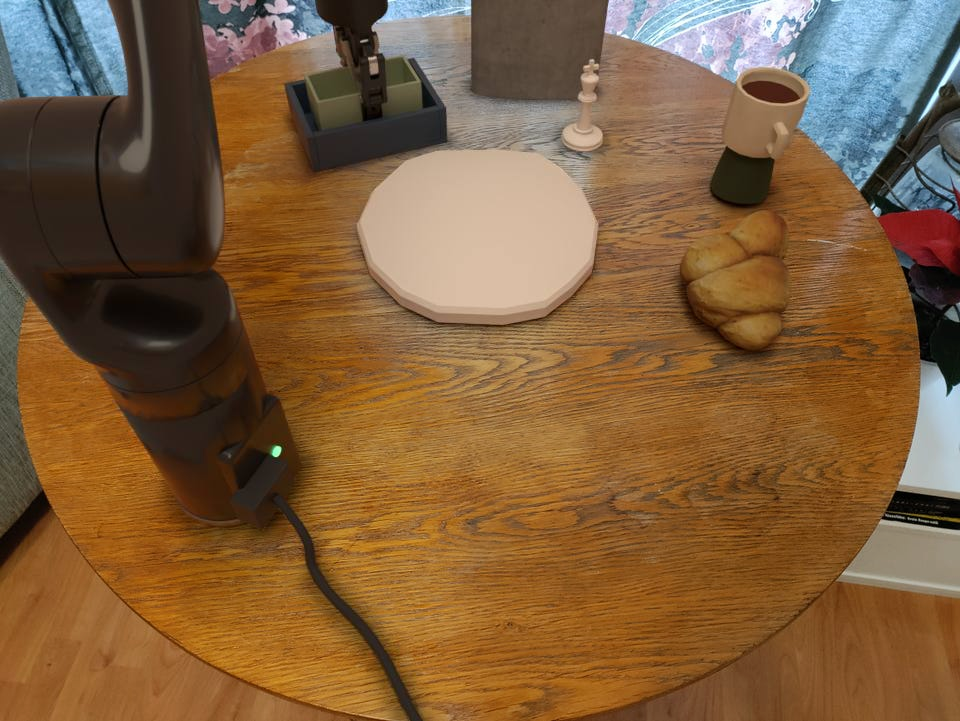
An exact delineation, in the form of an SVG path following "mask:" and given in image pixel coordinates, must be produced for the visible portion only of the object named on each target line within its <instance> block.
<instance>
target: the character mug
mask: <svg viewBox="0 0 960 721" xmlns="http://www.w3.org/2000/svg"><path fill="white" fill-rule="evenodd" d="M810 95H811V88H810V86H809V83H808V82H807V81H806V80H805V79H803V78H802V77H801V76H799V75H798V74H795V73H793V72H791V71H789V70H785V69H782V68H778V67H772V66H771V67H769V66H758V67H752V68H748V69H746V70H744V71H742V72H740V73H739V75H738V77H737V78H736V80H735V83H734V85H733V89H732V92H731V96H730V99H729V102H728V106H727V108H726V109H727V110H726V113H725V117H724V120H723V124H722V125H721V126H722V127H721V140H722V142H723V143H724V144H725V145H726V146H725V148H724V150H723V152H722V154H721V156H720V158H719V160H718V162H717V165H716V167H715V169H714V171H713V174H712V176H711V178H710V184H709V186H710V189H711V190H712V192H713V194H714V195H716V196H717V197H719V199H721V200H723V201H727V202H731V203H735V204H741V205H752V204H753V205H756V204H761V203H762V202H763V201H765V200H766V199H767V197H768V194H769V190H770V186H771V183H772V178H773V174H774V167H775V163H776V162H775V161H778V160H779V159H781V157H782V155H783V152H785V151H787V149H789V148H790V147H791V146H792V144H793V142H794V139H795V130H796V127H797V126H798V125H799V122H800V121H801V119H802V117H803V115H804V113H805V109H806V107H807V106H806V105H807V102H808V101H809V97H810Z"/></svg>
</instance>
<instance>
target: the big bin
mask: <svg viewBox="0 0 960 721" xmlns="http://www.w3.org/2000/svg"><path fill="white" fill-rule="evenodd" d="M407 60H408V62H409V63H410V65H411V66H412V68H413V70H414V71H415V73H416V74H417V76H418V78H419V79H420V81H421V88H422V105H423V109H419V110H415V111H410V112H405V113H401V114H396V115H391V116H387V117H382V118H378V119H373V120H368V121H364V122H359V123H354V124H350V125H345V126H340V127H336V128H331V129H326V130H322V131H319V130H318V127H317V125H316V123H315V121H314V118H313V116H312V114H311V110H310V104H309V99H308V94H307V89H306V83H305V78H303V79H298V80H294V81H293V80H292V81H289V82H285V83H284V84H283V85H284V89H285V90H284V91H285V94H286V98H287V99H286V100H287V104H288V108H289V113H290V118H291V120H292V123H293V125H294V128H295V130H296V132H297V135H298V137H299V140H300V142H301V144H302V147H303V150H304V151H305V154H306V157H307V159H308V162H309V164H310V166H311V169H312V171H313V173H317V172H322V171H325V170H330V169H334V168H335V169H336V168H339V167H344V166H348V165H352V164H357V163H361V162H365V161H369V160H374V159H378V158H383V157H387V156H391V155H395V154H400V153H405V152H408V151H413V150H418V149H422V148H426V147H431V146H435V145H440V144H444V143H447V142H448V122H447V119H448V118H447V107H446V105H445V104H444V102H443V100H442V99H441V97H440V96H439V94H438V92H437V91H436V89H435V88H434V86H433V85H432V83H431V82H430V80H429V79H428V76H427V75H426V74H425V72H424V70H423V69H422V68H421V65H419V63H418V61H417V60H416V58H415V57H410V58H407Z"/></svg>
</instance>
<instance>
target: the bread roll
mask: <svg viewBox="0 0 960 721" xmlns="http://www.w3.org/2000/svg"><path fill="white" fill-rule="evenodd" d="M789 245H790V229H789V226H788V223H787V221H786V220H785V219H784V217H782V215H781V216H780V215H779V214H778V213H777V212H775V211H771V210H768V209H767V210H766V209H761V210H757V211H754V212H752V213H750V214H749V215H747V216H746V217H744V218H743V219H742V220H741V221H740V222H739V223H738V224H736V225H735V226H734V227H733V228H732V229H731V231H730V232H729V233H727V232H716V233H715V234H710V235H703V236H701V237H699V238H698V239H697V240H695V241H694V242H693V243H691V244H690V245H689V246H688V247H686V248H687V249H686V250H685V252H684V254H683V256H682V258H681V260H680V263H679V267H678V268H679V274H678V275H679V277H680V279H681V281H682V282H683V283H684V285H685V286H686V287H685V289H686V296H687V299H688V303H689V305H690V306H691V308H692V310H693V314H694V315H695V316H696V318H698V319H699V320H701V321H702V322H703V323H705V324H707V325H708V326H710V327H713V328H716V330H717V331H718V332H719V333H720V335H721V336H722V337H723V338H724V339H725V340H727V341H728V342H730V343H732V345H735V346H736V347H739V348H741V349H744V350H749V351H760V350H763V349H765V348H767V347H768V346H769V345H770V344H772V343H773V342H774V341H775V340H776V339H777V338H778V336H779V334H780V333H781V331H782V317H781V313H783V312H785V311H786V309H788V306H789V304H790V297H791V292H792V276H791V273H790V269H789V268H788V266H787V264H786V263H785V261H784V259H785V258H786V256H787V253H788V250H789V247H790V246H789Z"/></svg>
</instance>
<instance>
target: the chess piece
mask: <svg viewBox="0 0 960 721" xmlns="http://www.w3.org/2000/svg"><path fill="white" fill-rule="evenodd" d="M594 62H595V61H594V60H593V59H591V60H589V65H587V66H583V70H584V72H586V71H588V72H586V73H584V74H582V75H581V83H582V88H583V91H581V92H580V93H579V95H578V98H577V99H578V100H579V101H580V102H581V106H580V110H579V114H578V118H577V122H574V123H573V122H572V123H570V124H568V125H566V126H565V127H564V128H563V130H562V133H561V136H560V139H561V142H562V143H563V145H564V146H565V147H567V148H568V149H570V150H573V151H577V152H591V151H595V150H597V149H598V148H600V147H601V146H602V144H603V141H604V134H603V131H602V130H601V129H600V128H599V127H598V126H597V125H595V124H593V123H592V116H591V115H592V103H594V102H596V101H597V99H598V97H597V93H596V94H595V93H594V92H593V90H594V88H595V86H596V84H597V85H598V83H597V82H599V80H600V77H599V75H597V74H595V73H593V70H598V69H599V70H600V68H599V65H598V64H594Z"/></svg>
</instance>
